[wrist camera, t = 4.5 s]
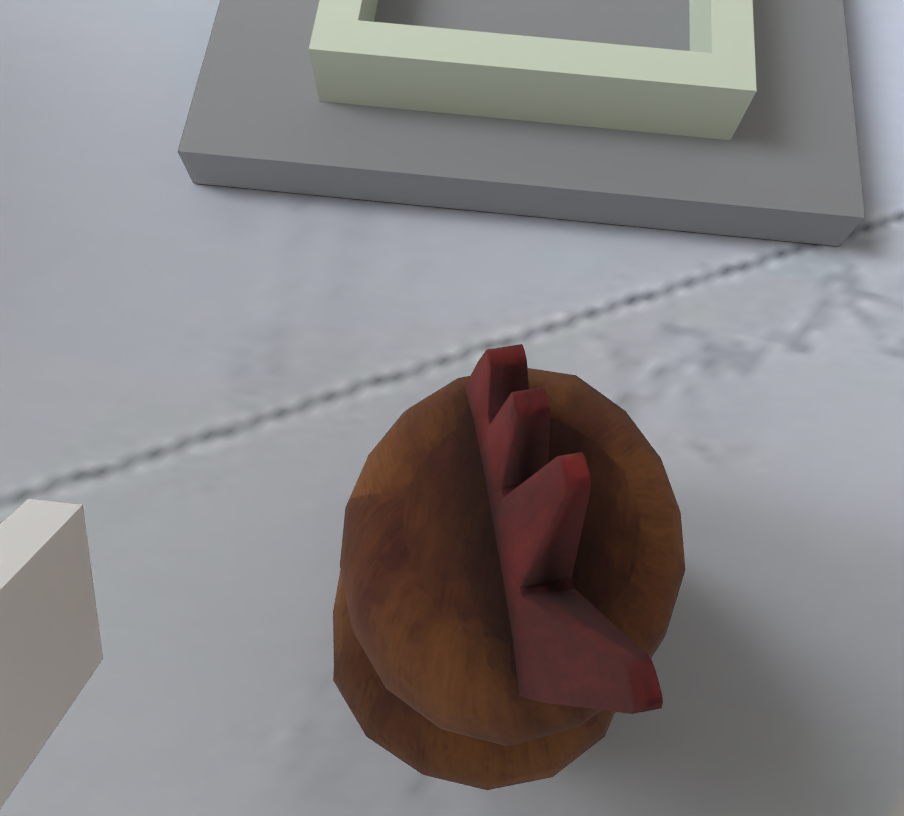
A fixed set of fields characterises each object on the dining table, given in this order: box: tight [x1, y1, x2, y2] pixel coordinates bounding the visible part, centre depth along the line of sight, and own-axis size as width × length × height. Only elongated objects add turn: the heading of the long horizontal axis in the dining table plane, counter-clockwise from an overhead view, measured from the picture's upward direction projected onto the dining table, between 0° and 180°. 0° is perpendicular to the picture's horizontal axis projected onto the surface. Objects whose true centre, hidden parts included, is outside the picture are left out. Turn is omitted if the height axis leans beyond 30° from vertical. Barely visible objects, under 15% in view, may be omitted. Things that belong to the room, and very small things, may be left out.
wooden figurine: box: [333, 344, 685, 790], centre depth 12 cm, size 7×6×15 cm
